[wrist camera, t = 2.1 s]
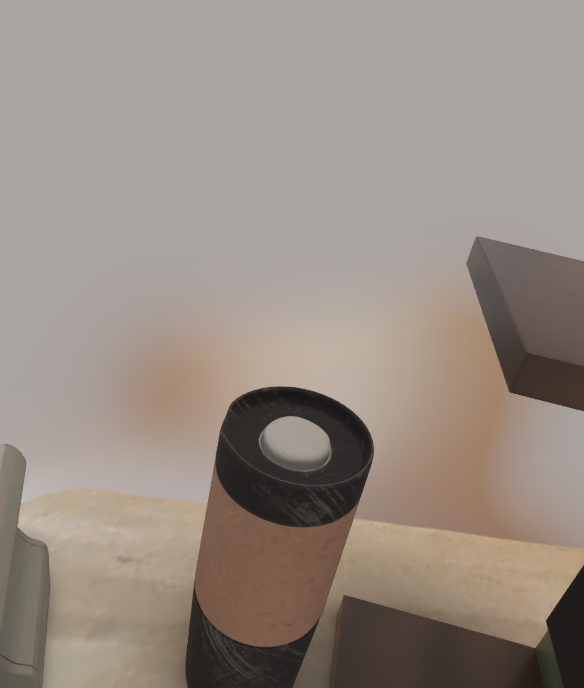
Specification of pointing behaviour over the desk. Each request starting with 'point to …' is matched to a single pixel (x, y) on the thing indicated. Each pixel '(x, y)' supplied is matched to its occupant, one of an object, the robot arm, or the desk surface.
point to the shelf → (521, 378)
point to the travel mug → (273, 534)
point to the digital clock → (20, 584)
